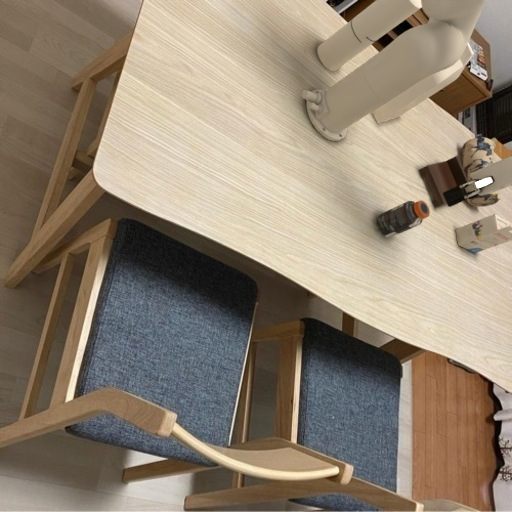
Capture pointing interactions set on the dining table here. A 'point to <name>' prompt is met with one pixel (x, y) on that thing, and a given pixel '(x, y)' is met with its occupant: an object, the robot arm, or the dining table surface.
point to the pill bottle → (402, 218)
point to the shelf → (444, 178)
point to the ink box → (484, 233)
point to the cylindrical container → (364, 30)
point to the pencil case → (479, 165)
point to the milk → (422, 89)
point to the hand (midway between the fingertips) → (456, 196)
